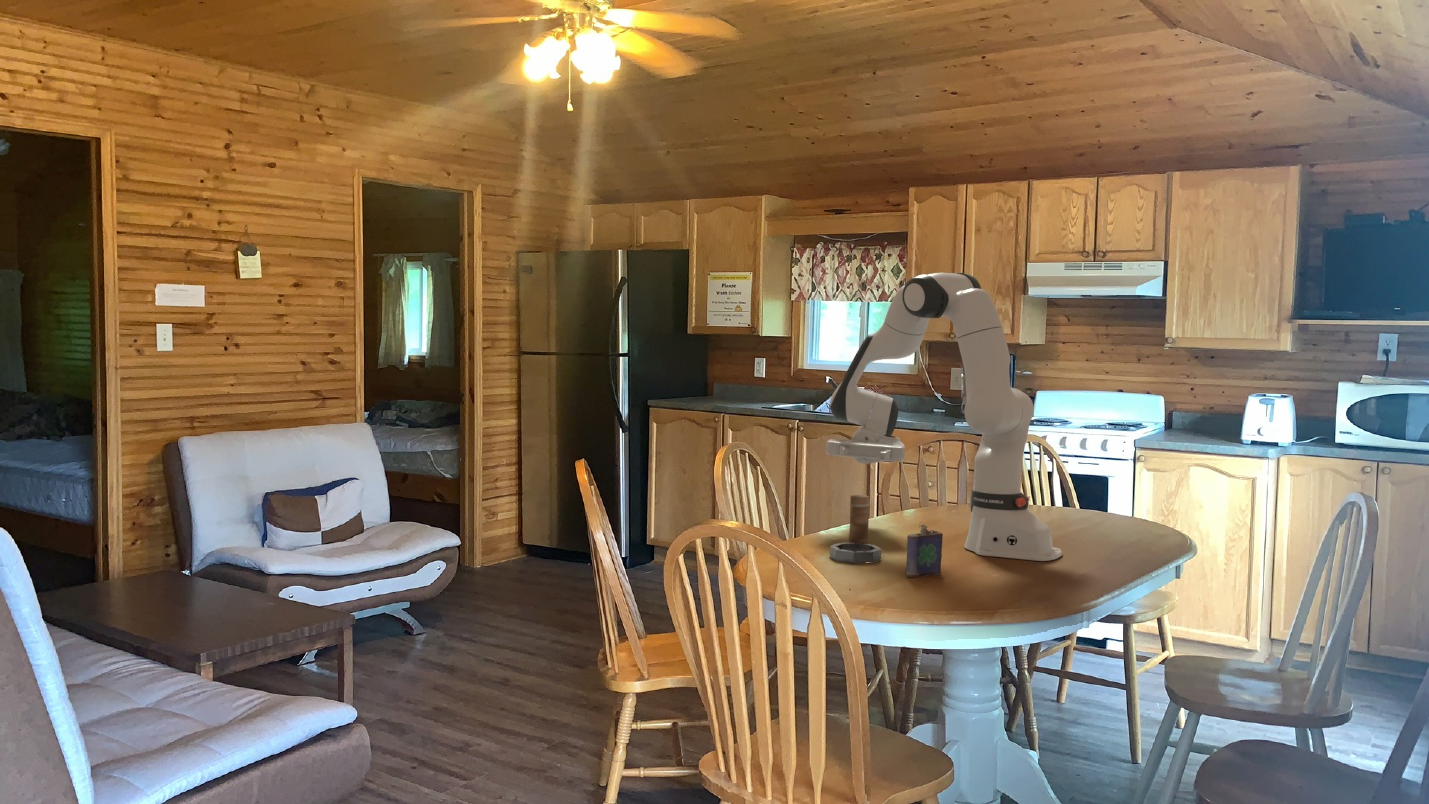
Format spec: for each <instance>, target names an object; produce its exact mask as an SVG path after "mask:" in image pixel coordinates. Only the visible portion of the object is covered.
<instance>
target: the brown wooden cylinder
mask: <svg viewBox="0 0 1429 804" xmlns="http://www.w3.org/2000/svg"><path fill="white" fill-rule="evenodd" d="M849 506H850V507H849V533H848V534H849V535H848V536H849V539H848V540H849V541H848V543H864V544H869V517H870V516H869V515H870V496H868V495H862V494H854V495H850V502H849Z"/></svg>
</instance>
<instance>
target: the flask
mask: <svg viewBox="0 0 1429 804" xmlns="http://www.w3.org/2000/svg"><path fill="white" fill-rule="evenodd" d="M919 528H921V529H920V533H919V532H918V533H912V534H908V535H907V540H906V541H907V544H906V547H907V548H906V567H905V569H906V570H905V575H906V578H908V577H909V578H910V577H911V578H921V577H924V578H925V577H928V576H936V575H939V576H940V575H941V573H942V572H941V571H942V570H941V569H942V554H943V553H942V552H943V551H942V549H943V536H944V535H943V533H942V532H940V531H937V530H933V529H932V530H928V529H927V528H928V526H927V525H925V524H921V525H919Z"/></svg>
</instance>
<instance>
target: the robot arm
mask: <svg viewBox="0 0 1429 804" xmlns="http://www.w3.org/2000/svg"><path fill="white" fill-rule="evenodd" d="M940 318H943V319H944V318H947V319H949V320H950V322H951V323H952V325H953V328H954V331H955V332H954V333H955V336H956V340H957V343H958V347H959V352H960V353H959V354H960V356H961V360H962V364H963V368H964V369H963V370H964V375H965V390H966V392H965V393H966V404H965V406H964V420H965V421H966V423H967V426H969V428H970V429H972V430H973V431H975V432H976V433H978V434H982V435H981V439H980V442H979V446H978V450H977V452H976V454H975V455H974V456H975V457H974V460H973V461H974V465H973V466H974V467H973V489H971V494H970V512H971V516H970V523H969V527H968V528H969V529H968V532H967V537H966V540H965V542H964V548H965V549H967V550H969V551H971V552H973V553H975V554H977V555H979V556H985V557H996V558H997V557H998V558H1006V559H1007V558H1008V559H1018V560H1027V561H1037V562H1046V561H1047V562H1049V561H1053V560H1056V559H1059V558H1060V557H1062V555H1063V554H1062V553H1063V552H1062V550H1061V548H1059V547H1054V546H1053V537H1052V532H1051V529H1050V527H1049V526H1048V525H1047V524H1046V523H1044V522H1043V521H1042V519H1040V518H1039V517H1038V516H1036V514H1034V513H1033V512H1032V511H1030V509H1029V502H1030V501H1031V499H1030V498H1031V496H1030V495H1029V496H1027V495H1025V494H1024V493H1022V490H1021V489H1022V472H1023V470H1022V469H1023V459H1024V457H1023V456H1024V453H1025V448H1026V444H1027V439H1028V434H1029V428H1030V424H1031V421H1032V418H1033V416H1034V413H1035V407H1034V403H1033V400H1032V399H1031V398H1030V397H1029V395H1027V393H1025V392H1023V391H1022V390H1020V389H1018V388H1014V387H1011V377H1010V364H1011V355H1010V350H1009V346H1008V343H1007V342H1008V341H1007V339H1006V335H1005V331H1004V328H1003V325H1002V321H1001V320H1002V319H1001V318H1000V315H999V313H998V309H997V307H996V304H995V302H994V300H993V298H992V297H991V294H990V293H989V292H988V291H986V290H985V289H982V286H981V284H980V282H979V280H978V279H977V278H976V277H974V276H973V275H970V274H968V273H963V272H955V273H953V272H951V273H950V272H934V273H928V274H920V275H917V276H914V277H912V278H910V279H909V280H908V281H907V282H906V283H905V284H904V285H902V286H901V287H899V288H898V290H897V291H896V293H895V295H894V297H893V298H892V300H891V302H890V305H889V307H888V310H887V312H886V315H885V317H884V321H883V323H882V325H881V327H880V328H879V329H878V330H877V331H875V332H874V333H873V332H872V333H869V334H868V335H866V337H865V338H864V339H863V341H862V343H861V344H860V346H859V348H858V350H857V351H856V353H855V355H854V357H853V359H852V361H851V363H850V365H849V367H848V369H847V370H846V372H845V374H844V377H843V378H842V380H841V382H840V383H839V385H838V386H837V387H836V389H835V390H834V392H833V393H832V395H831V398H830V400H829V401H830V402H829V410H830V413H831V414H832V415H833V417H834V418H835V419H836V420H839V421H844V422H848V423H849V422H850V423H852V424H856V425H858V426H860V427H859V428H857V429H856V430H855V431H854V432H853V434H852V436H851V439H846V438H845V439H844V438H830V439H828V440H827V441H826V442H825V454H826V455H828V456H837V457H848V458H853V459H854V460H855V461H856V462H858V463H861V464H864V465H868V464H874V463H875V464H876V463H881V462H882V463H883V462H884V463H885V462H886V463H887V462H888V463H896V462H904V461H905V456H906V454H905V453H906V446H905V443H903V442H902V441H901V438H900V437H899V436H893V433H894V432H895V428H896V425H897V421H898V417H899V406H898V403H897V401H896V400H895V398H893V397H890V396H887V395H885V394H881V393H877V392H875V391H870V390H868V389H864V388H861V387H859V386H858V385H857V384H858V383H859V381H860V379H861V377H862V375H863V373H864V372H865V370H866V368H867V366H869V364H871V363H872V362H876V361H881V360H899V359H902V358H907V357H910V356H911V355H914V353H916V352H917V351H918V350H919V349H920V348H921V345H922V343H923V341H924V338H925V336H926V333H927V331H928V330H927V329H928V325H929V323H930V320H931V319H940Z"/></svg>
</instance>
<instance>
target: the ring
mask: <svg viewBox="0 0 1429 804" xmlns="http://www.w3.org/2000/svg"><path fill="white" fill-rule="evenodd" d="M829 557H830V559H833V560H834V561H836V562H841V563H847V562H849V564H867V563H866V562H874V563H877V562H879V561H881V560H882V548H881V547H879V546H877V545H875V544H870V543H868V544H864V543H849V542H837V543H834V544H831V545H830V546H829ZM880 559H881V560H880ZM878 560H879V561H878ZM876 561H877V562H876Z"/></svg>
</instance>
